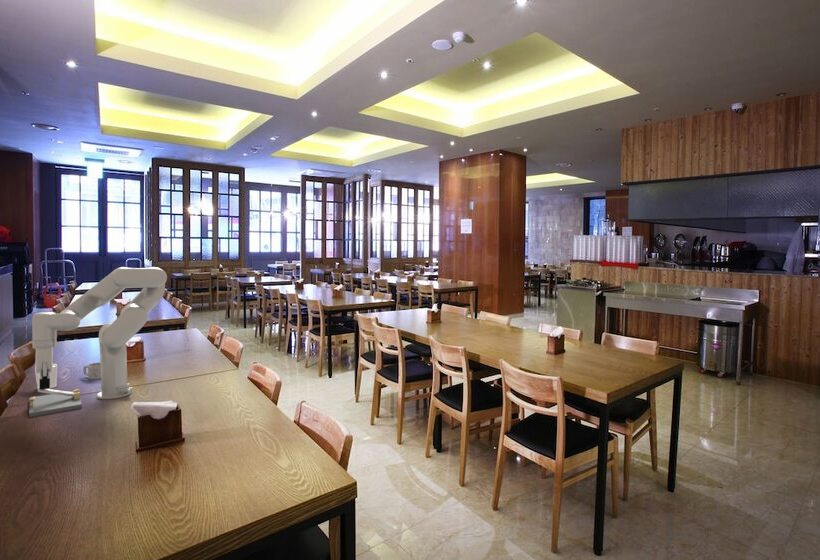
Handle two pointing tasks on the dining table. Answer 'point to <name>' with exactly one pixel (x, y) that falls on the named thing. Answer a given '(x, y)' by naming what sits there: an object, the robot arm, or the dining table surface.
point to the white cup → (51, 375)
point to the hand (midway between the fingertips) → (44, 388)
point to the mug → (93, 371)
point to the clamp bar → (56, 392)
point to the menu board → (54, 403)
